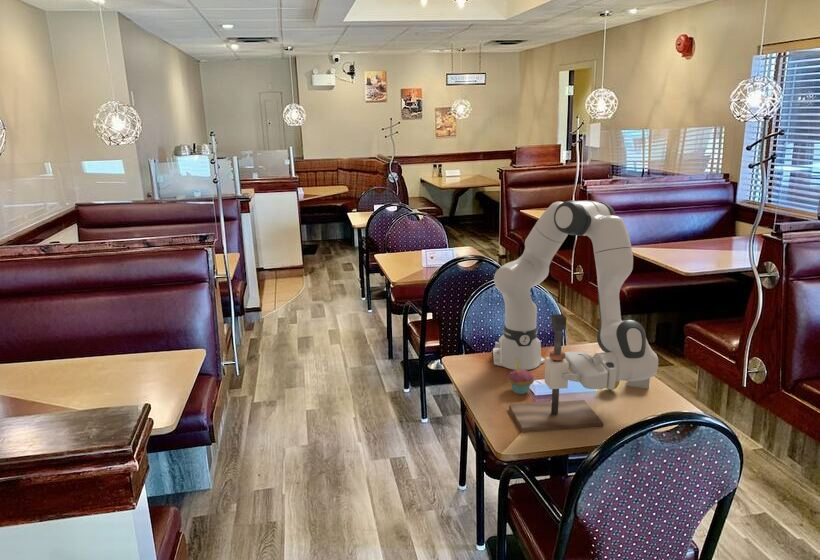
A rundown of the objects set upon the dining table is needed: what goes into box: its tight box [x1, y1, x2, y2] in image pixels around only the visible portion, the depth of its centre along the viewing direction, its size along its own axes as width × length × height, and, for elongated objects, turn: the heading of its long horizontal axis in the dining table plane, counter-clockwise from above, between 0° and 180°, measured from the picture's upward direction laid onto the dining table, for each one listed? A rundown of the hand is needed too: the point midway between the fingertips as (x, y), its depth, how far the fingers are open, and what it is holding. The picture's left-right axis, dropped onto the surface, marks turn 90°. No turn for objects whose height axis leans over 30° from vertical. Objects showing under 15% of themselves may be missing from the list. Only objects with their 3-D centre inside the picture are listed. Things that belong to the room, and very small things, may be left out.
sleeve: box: [544, 356, 569, 390], centre depth 186 cm, size 5×5×8 cm
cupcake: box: [507, 358, 535, 395], centre depth 207 cm, size 9×8×12 cm
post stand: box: [508, 313, 604, 433], centre depth 186 cm, size 15×24×32 cm, turn 96°
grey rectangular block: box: [626, 378, 651, 389], centre depth 210 cm, size 4×7×10 cm, turn 71°
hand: (557, 370), depth 186 cm, fingers open, 8 cm apart
